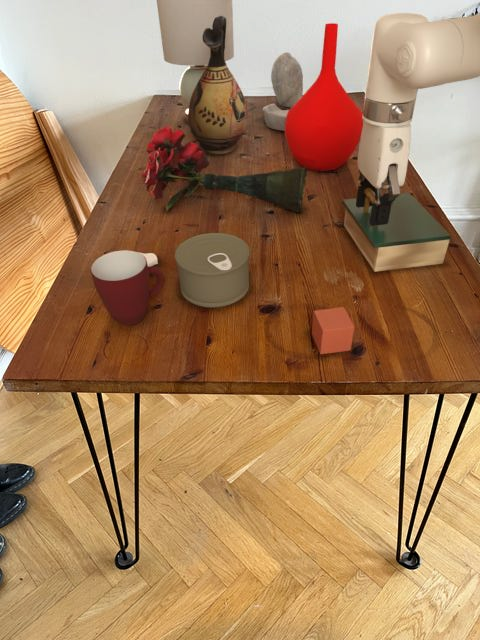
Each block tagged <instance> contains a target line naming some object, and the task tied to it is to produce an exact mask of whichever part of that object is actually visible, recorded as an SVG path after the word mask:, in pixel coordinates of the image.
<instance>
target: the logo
mask: <svg viewBox="0 0 480 640" xmlns="http://www.w3.org/2000/svg"><path fill="white" fill-rule="evenodd" d="M137 252H138V253H140V254H142V255H143V256H144V257H145V258H146V260H147V265H148V267H149V266H155V265H158V264H159V260H158V257H157V255H156V254H155V253H153V252H149V253H143V252H140V251H137Z"/></svg>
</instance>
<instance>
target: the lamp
mask: <svg viewBox="0 0 480 640" xmlns="http://www.w3.org/2000/svg"><path fill="white" fill-rule="evenodd" d="M156 6H157V14H158V22H159V30H160V38H161V45H162V47H161V48H162V53H163V60H164V62H166V63H168V64H171V65H178V66H188V67H187V68H185V70H184V72H183V73H182V74H181V77H180V80H179V93H180V97H181V99H182V101H183V103H184V104H185V105H186V106H187V107H188V108H186V110H185V120H186V123H188V110H189V104H190V99H191V96H192V93H193V91H194V89H195V87H196V85H197V83H198V81H199V79H200V78H201V76H202V74H203V72H204V70H205V69H206V68H207V66H208V63H209V59H210V48H209V47H208V46H207V45H206V44H205V43H204V42H203V37H202V36H203V33H204V31H205V29H206V28H210V29H213V27H212V25H213V21H214V19H215V18H216V17H219V16H223V17H225V18H226V38H225V50H224V59H225V62H227V61H230V60H232V59H234V57H235V53H234V52H235V49H234V48H235V47H234V45H235V44H234V43H235V42H234V12H233V11H234V10H233V0H156Z"/></svg>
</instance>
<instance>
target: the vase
mask: <svg viewBox="0 0 480 640" xmlns="http://www.w3.org/2000/svg"><path fill="white" fill-rule="evenodd" d="M338 30H339V24H338V23H333V22H330V23H325V24H324V33H323V43H322V45H323V46H322V53H321V69H320V71H319V75H318V76H317V78H316V80H315V81H314V82H313V84H312V85H311V86H310V87H309V88H308V89H307V90H306V91H305V93H303V96H302V97H301V98H300V99H299V100H298V101H297V102H296V103H295V104H294V105H293V106H292V108H289V109H290V110H289V109H288V110H289V111H288V113H287V117H286V121H285V131H284V135H285V138H286V142H287V145H288V146H287V147H288V149H289V151H290V154H291V155H292V156H293V158H294V160H295V161H296V162H297V163H298V164H299V165H300V166H301V167H302V168H304V167H305V168H306V169H307V170H310V171H314V172H315V171H316V172H328V171H333V170H337V169H338V168H340V167H341V166H343V165H344V164H346V162H347V161H348V160H349V159H350V158H351V156H352V155H353V154H354V153H355V152H356V149H357V148H358V145H359V144H360V139H361V133H362V128H363V124H364V120H363V119H362V115H363V111H362V110H361V109H360V108H359V107H358V106H357V104H356V102H354V101H353V98H351V97H350V95H349V94H348V92H347V91H346V89H345V88H344V87H343V85H342V83H341V82H340V81H339V79H338V76H337V73H336V63H337V62H336V61H337V47H338V34H339V33H338V32H339V31H338Z"/></svg>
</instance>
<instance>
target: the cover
mask: <svg viewBox="0 0 480 640" xmlns="http://www.w3.org/2000/svg"><path fill="white" fill-rule="evenodd" d="M364 194H365V195H366V196H365V203H364V207H359V208H358V207H357V206H356V199H357V197H355V198H347V199H346V198H345V199H342V201H341V205H342V206H343V207H344V209H345V211H346V210H347V211H348V213H349V214H350V215H351V217H352V218H353V220H354V221H355V222H356V224H357V225H358V227H359V228H360V229H361V231H362V232H363V234H364V235H365V237H366V238H367V239H368V241H369V242H370V244H371V245H372V246H373V248H380V247H388V246H397V245H406V244H414V243H423V242H432V241H440V240H451V236H452V235H451V234H450V232H448V231H447V230H446V228H444V227H443V226H442V224H440V223H439V222H438V220H436V219H435V218H434V216H433V215H432V214H431V213H430V212H429V211H428V210H427V209H426V208H425V207H424V206H423V205H422V204H421V203H420V202H419V201H418V200H417V199H416V198H415V197H414V196H413V195H412V194H411V193H410V192H405V193H403V192H402V193H400V195H399V196H398V197H397V198H396V199H395V200H394V202H393V204H392V205H391V210H390V216H389V221H388V223H387V224H384V225H375V226H371V225H370V223H369V222H370V216H371V209H372V206H369V204H370V201H371V203H375V193H374V192H373V190H372V189H371V188H366V189H365V190H364Z"/></svg>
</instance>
